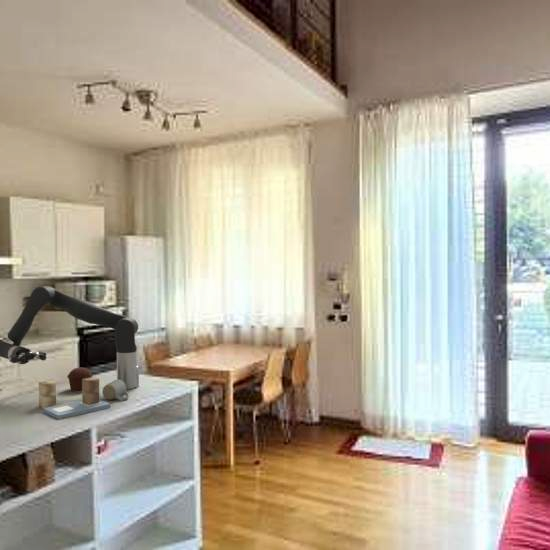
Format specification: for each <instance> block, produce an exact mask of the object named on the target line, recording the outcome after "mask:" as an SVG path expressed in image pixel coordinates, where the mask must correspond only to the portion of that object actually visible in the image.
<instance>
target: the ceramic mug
mask: <svg viewBox="0 0 550 550" xmlns="http://www.w3.org/2000/svg"><path fill="white" fill-rule="evenodd" d="M102 395H103V397H104V398H105V399H106V400H108V401H113V400H120V401H127V400H128V399H129V392H127V389H126V385H125V383H124V382H123V381H122V380H117V379H115V380H113V381H111V382H108V383H107V384H106V385H104V387H103V388H102ZM124 396H125V397H124ZM126 399H127V400H126Z"/></svg>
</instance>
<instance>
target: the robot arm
mask: <svg viewBox="0 0 550 550" xmlns="http://www.w3.org/2000/svg"><path fill="white" fill-rule="evenodd" d="M45 306H50V307H53V308H57V309H60V310H63V311H64V312H66V313H67V314H68V315H70V316H72V317H73V318H75V319H77V320H80V321H82V322H85V323H88V324H91V325H97V326H104V327H107V328H110V329H113V330H114V345H115V347H116V380H122V381H123V382H124V383H125V385H126V390H130V389H131V388H132V389H135V387H136V388H137V386H138V387H139V386H140V384H139V383H140V380H139V379H140V377H139V376H140V374H139V373H140V369H139V366H138V365H137V364H138V362H137V361H138V357H137V356H138V352H137V349H138V348H137V343H136V339H135V338H136V337H135V336H136V335H135V334H136V333H137V332H138V330H139V323H138V322H137V321H136V319H134V318H133V317H130V316H127V315H122V314H118V313H115V312H112V311H110V310H108V309H106V308H104V307H101V306H100V305H97V304H94V303H92V302H90V301H86V300H83V299H80V298H79V297H78V298H77V297H75V296H71V295H68V294H66V293H63V292H61V291H59V290H57V289H56V288H54V287H52V286H49V285H43V286H41V285H39V286H37V287H35V288H34V289H32V292H31V293H30V296H29V298H28V300H27V302H26V305H25V306H24V309H23V310H22V311H21V313H20V315H19V317H18V319H17V320H16V321H15V323H14V324H13V326H12V327H11V328H10V330H9V331H8V333H7V335H6V337H7V339H8V340H10V341H11V342H12V343H9V342H6V341H3V340H2V341H0V357H1V358H4V359H7V360H9V361H8V362H10V363H13V364H18V365H26V364H27V363H29V362H32V361H36V362H37V361H38V360H39V361H40V360H41V361H46V359H47V353H46V352H42V351H38V352H37V351H36V352H34V351H32V350H31V349H29V348H28V347H25V346H21V344H22V341H23V340H24V339H25V337H26V336H27V334H28V333H29V331H30V329H31V328H32V325H33V322H34V319H35V317H36V316H37V314H38V313H39V312H40V311H41V310H42V308H43V307H45Z"/></svg>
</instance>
